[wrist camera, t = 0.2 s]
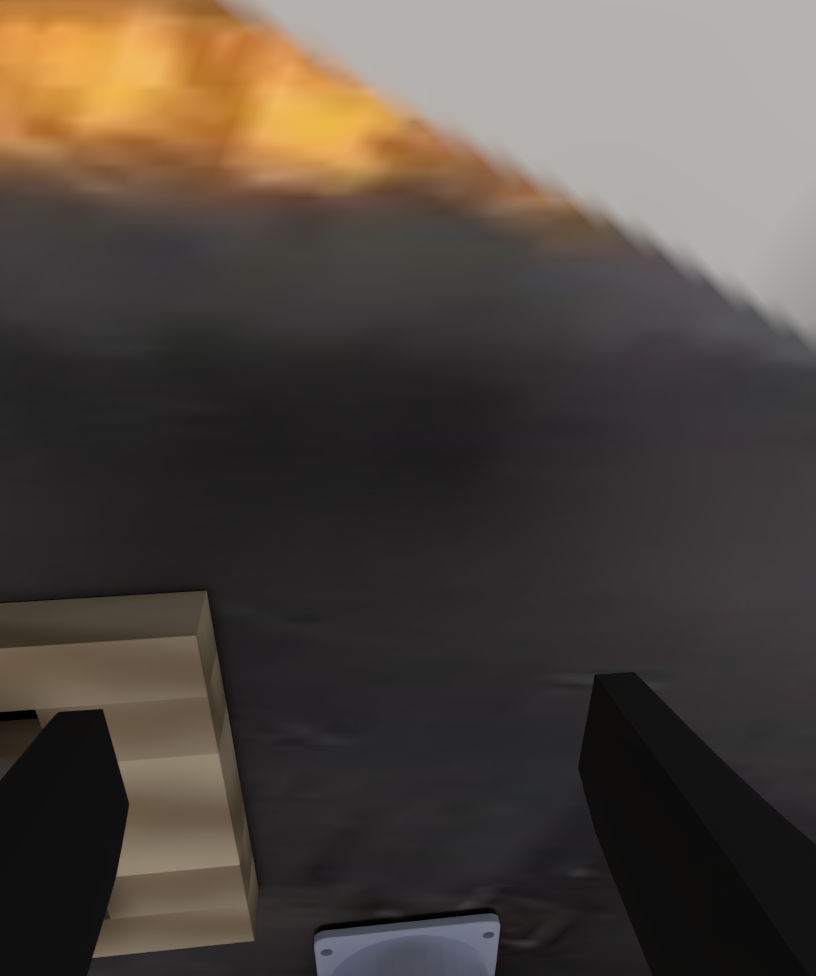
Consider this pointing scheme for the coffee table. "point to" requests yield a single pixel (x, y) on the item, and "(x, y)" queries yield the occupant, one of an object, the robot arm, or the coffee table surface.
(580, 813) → the coffee table surface
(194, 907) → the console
